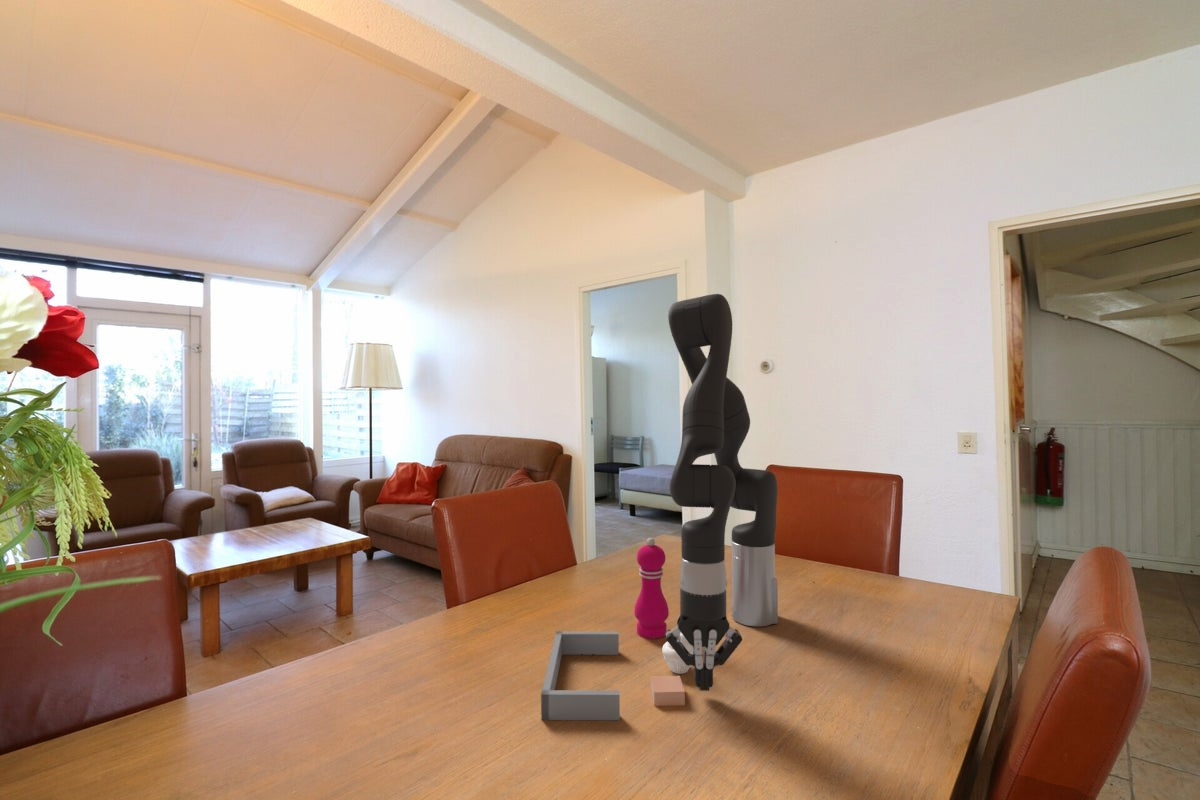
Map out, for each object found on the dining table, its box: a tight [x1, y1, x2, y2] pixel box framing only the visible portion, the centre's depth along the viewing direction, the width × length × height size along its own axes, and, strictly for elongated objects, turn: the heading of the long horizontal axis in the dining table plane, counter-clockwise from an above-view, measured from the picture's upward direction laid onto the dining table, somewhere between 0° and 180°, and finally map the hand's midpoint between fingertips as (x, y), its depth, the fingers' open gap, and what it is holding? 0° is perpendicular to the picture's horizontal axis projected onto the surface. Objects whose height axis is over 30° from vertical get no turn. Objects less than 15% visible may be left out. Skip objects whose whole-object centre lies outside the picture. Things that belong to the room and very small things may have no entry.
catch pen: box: [540, 630, 621, 721], centre depth 98 cm, size 12×22×4 cm, turn 178°
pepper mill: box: [633, 537, 670, 639], centre depth 117 cm, size 7×7×20 cm
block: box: [650, 675, 686, 707], centre depth 93 cm, size 5×5×2 cm
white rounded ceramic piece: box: [661, 633, 693, 675], centre depth 102 cm, size 6×6×7 cm
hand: (703, 688), depth 93 cm, fingers closed
